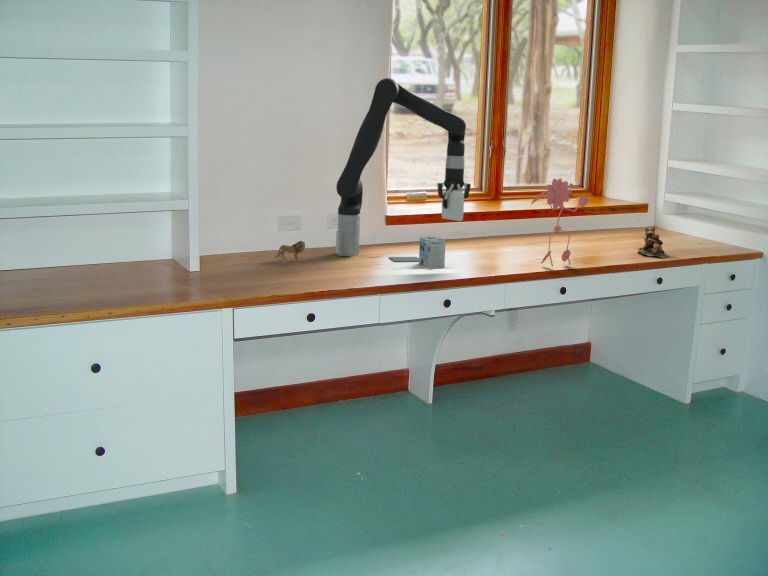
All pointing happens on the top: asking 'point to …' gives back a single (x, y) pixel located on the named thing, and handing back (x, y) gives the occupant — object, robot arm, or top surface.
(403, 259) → the slate pad
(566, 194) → the figurine
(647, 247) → the bear figurine
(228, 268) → the top surface
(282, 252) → the lion figurine
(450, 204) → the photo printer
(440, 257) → the light bulb box
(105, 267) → the top surface
